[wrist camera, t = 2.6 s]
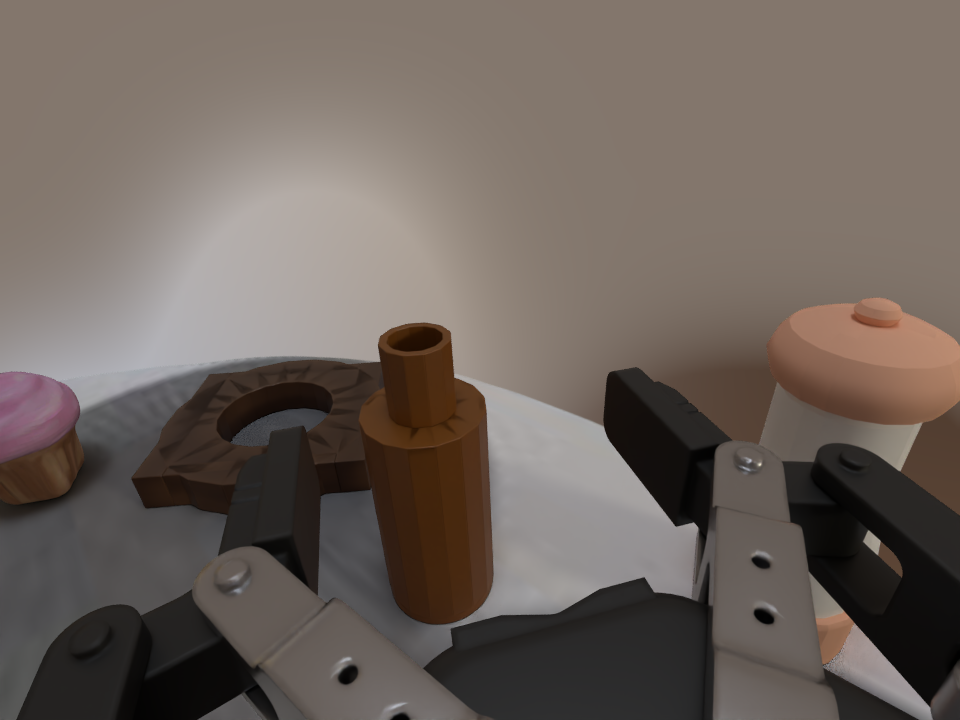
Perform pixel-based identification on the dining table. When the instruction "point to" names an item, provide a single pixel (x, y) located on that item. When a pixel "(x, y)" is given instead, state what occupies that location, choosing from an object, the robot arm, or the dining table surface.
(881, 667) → the dining table surface
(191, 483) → the board
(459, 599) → the bottle
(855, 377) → the pepper shaker
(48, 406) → the cupcake
